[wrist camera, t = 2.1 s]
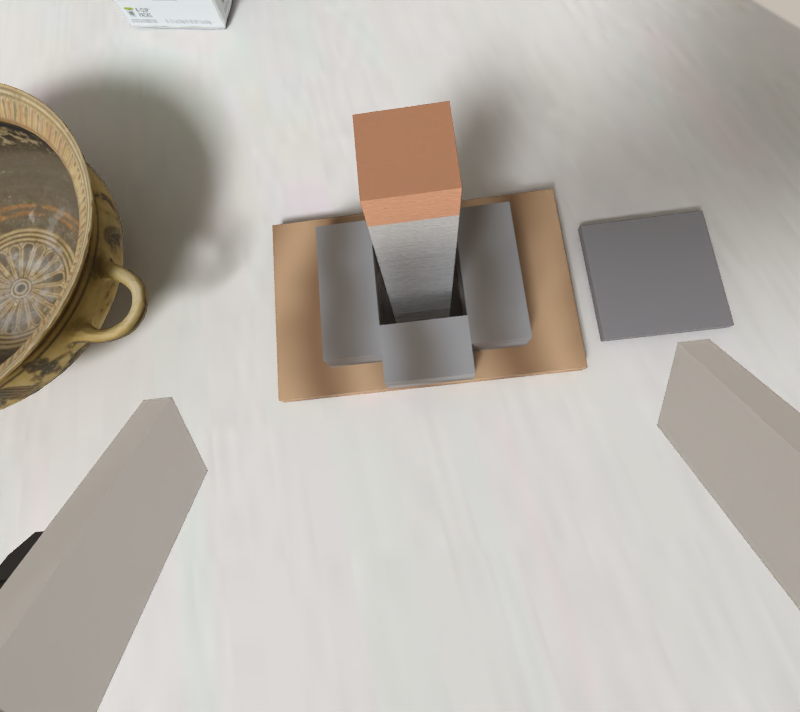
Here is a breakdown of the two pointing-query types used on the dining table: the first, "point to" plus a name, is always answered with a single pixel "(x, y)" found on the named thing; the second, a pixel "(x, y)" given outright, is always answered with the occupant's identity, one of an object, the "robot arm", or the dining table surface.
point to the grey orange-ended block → (411, 204)
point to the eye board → (488, 365)
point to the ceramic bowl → (53, 250)
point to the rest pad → (654, 276)
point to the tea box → (176, 13)
